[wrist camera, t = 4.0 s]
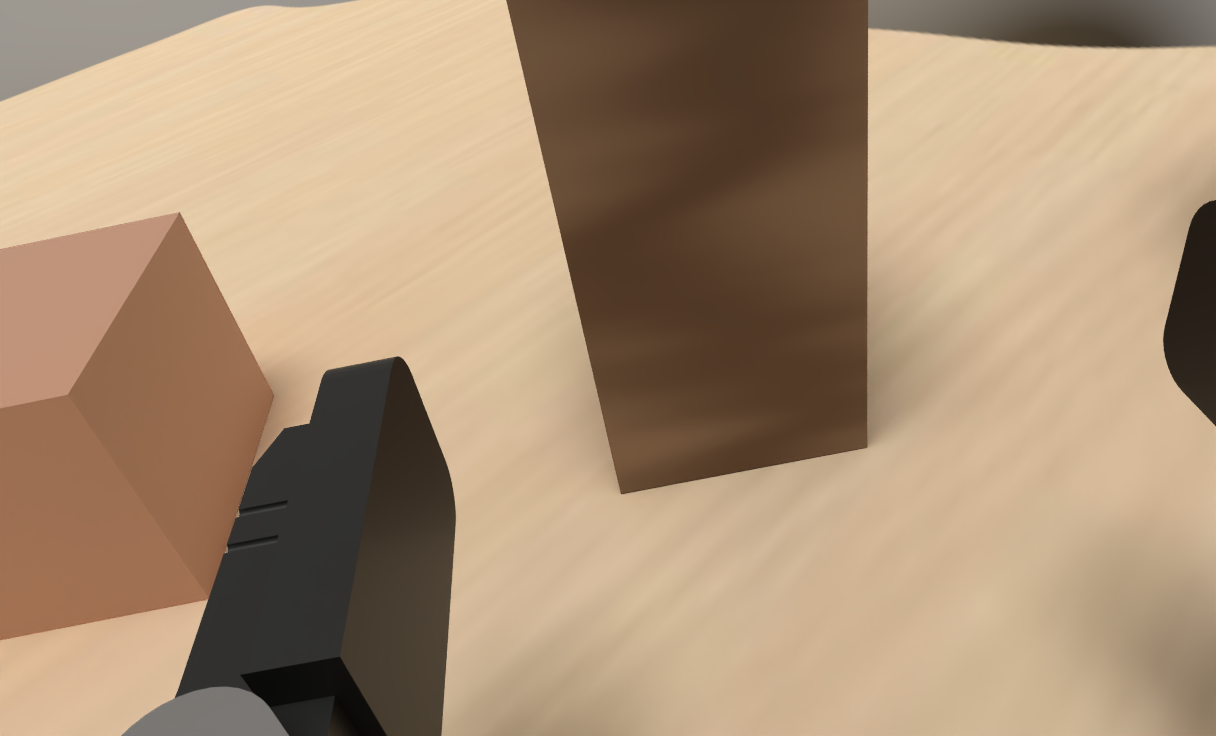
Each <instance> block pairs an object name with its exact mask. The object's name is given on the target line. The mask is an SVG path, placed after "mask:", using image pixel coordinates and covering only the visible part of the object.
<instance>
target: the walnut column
mask: <svg viewBox="0 0 1216 736" xmlns="http://www.w3.org/2000/svg"><path fill="white" fill-rule="evenodd" d="M506 1H507V5H508V9H509V14H510V18H511V22H512V26H513V31H514V35H515V39H516V44H517V48H518V52H519V57H520V61H521V65H522V70H523V74H524V78H525V82H526V87H527V91H528V95H529V100H530V104H531V108H532V113H533V117H534V121H535V125H536V130H537V134H538V138H539V143H540V147H541V151H542V156H543V160H544V164H545V169H546V173H547V177H548V181H549V186H550V190H551V194H552V199H553V203H554V207H555V212H556V216H557V220H558V225H559V229H560V233H561V237H562V242H563V246H564V250H565V255H566V259H567V263H568V268H569V272H570V276H571V280H572V285H573V289H574V293H575V298H576V302H577V306H578V311H579V315H580V319H581V324H582V328H583V332H584V336H585V341H586V345H587V349H588V354H589V358H590V362H591V367H592V371H593V375H594V380H595V384H596V388H597V392H598V397H599V401H600V405H601V410H602V414H603V418H604V423H605V427H606V431H607V436H608V440H609V444H610V448H611V453H612V457H613V461H614V466H615V470H616V474H617V479H618V483H619V487H620V491H621V494H623V493H628V492H633V491H639V490H644V489H649V488H654V487H660V486H665V485H670V484H676V483H681V482H686V481H691V480H697V479H702V478H707V477H713V476H718V475H723V474H728V473H734V472H739V471H744V470H750V469H755V468H760V467H766V466H771V465H776V464H781V463H787V462H792V461H797V460H803V459H808V458H813V457H818V456H824V455H829V454H834V453H840V452H845V451H850V450H856V449H861V448H866V447H867V192H868V0H506Z"/></svg>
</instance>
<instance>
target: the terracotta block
mask: <svg viewBox="0 0 1216 736" xmlns="http://www.w3.org/2000/svg"><path fill="white" fill-rule="evenodd" d="M273 397H274V395H273V393H272V391H271V389H270V387H269V385H268V383H267V381H266V379H265V377H264V375H263V373H262V371H261V369H260V367H259V365H258V363H257V362H256V360H255V358H254V356H253V354H252V352H251V350H250V348H249V346H248V344H247V342H246V340H245V338H244V336H243V334H242V332H241V330H240V328H239V327H238V325H237V323H236V321H235V319H234V317H233V315H232V313H231V311H230V309H229V307H228V305H227V303H226V301H225V299H224V297H223V295H222V293H221V292H220V290H219V288H218V286H217V284H216V282H215V280H214V278H213V276H212V274H211V272H210V270H209V268H208V266H207V264H206V262H205V260H204V259H203V257H202V255H201V253H200V251H199V249H198V247H197V245H196V243H195V241H194V239H193V237H192V235H191V233H190V231H189V229H188V227H187V225H186V224H185V222H184V220H183V218H182V216H181V214H180V212H179V213H174V214H169V215H164V216H159V217H154V218H150V219H145V220H140V221H135V222H130V223H125V224H120V225H116V226H111V227H106V228H101V229H96V230H91V231H86V232H82V233H77V234H72V235H67V236H62V237H57V238H53V239H48V240H43V241H38V242H33V243H28V244H23V245H19V246H14V247H9V248H4V249H0V640H3V639H9V638H14V637H19V636H24V635H29V634H34V633H39V632H44V631H49V630H54V629H60V628H65V627H70V626H75V625H80V624H85V623H90V622H95V621H100V620H105V619H111V618H116V617H121V616H126V615H131V614H136V613H141V612H146V611H151V610H157V609H162V608H167V607H172V606H177V605H182V604H187V603H192V602H197V601H202V600H208V599H209V596H210V593H211V590H212V587H213V584H214V581H215V578H216V575H217V572H218V569H219V566H220V563H221V560H222V557H223V554H224V552H225V549H226V546H227V542H228V539H229V536H230V533H231V530H232V527H233V523H234V520H235V517H236V514H237V511H238V508H239V505H240V501H241V498H242V495H243V492H244V489H245V486H246V482H247V479H248V476H249V473H250V470H251V467H252V464H253V460H254V457H255V454H256V451H257V448H258V445H259V441H260V438H261V435H262V432H263V429H264V426H265V423H266V419H267V416H268V413H269V410H270V407H271V404H272V401H273Z"/></svg>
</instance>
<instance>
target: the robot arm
mask: <svg viewBox="0 0 1216 736" xmlns="http://www.w3.org/2000/svg"><path fill="white" fill-rule="evenodd" d="M1163 344H1164V353H1165V358H1166V362H1167V365H1168V368H1169V370H1170V373H1171V375H1172V377H1173V379H1174V381H1175V382H1176V384H1177V385H1178V387H1179V388H1180V389H1181V390H1182V391H1183V392H1184V393H1185V395H1186V396H1187V397H1188V398H1189V399H1190V400H1191V401H1192V402H1193V403H1194V404H1195V405H1196V406H1197V407H1198V408H1199V409H1200V410H1201V411H1202V412H1203V413H1204V414H1205V415H1206V416H1207V417H1208V418H1209V420H1210V421H1211V422H1212V423H1213V424H1214V425H1215V426H1216V200H1215V201H1210V202H1208V203H1206V204H1204V205H1203V206H1202V207H1200V208H1199V209H1198V211H1197V212H1196V213H1195V215H1194V217H1193V219H1192V221H1191V224H1190V227H1189V231H1188V235H1187V239H1186V243H1185V247H1184V251H1183V255H1182V259H1181V264H1180V268H1179V272H1178V276H1177V280H1176V284H1175V288H1174V292H1173V296H1172V300H1171V304H1170V308H1169V312H1168V316H1167V320H1166V324H1165V329H1164V338H1163ZM238 510H239V513H240V517H238V518H235V521H234V524H233V527H232V530H231V533H230V536H229V539H228V542H227V546H228V553H225V554H223V557H222V560H221V563H220V566H219V569H218V572H217V575H216V578H215V581H214V584H213V587H212V590H211V593H210V596H209V599H208V602H207V605H206V608H205V611H204V614H203V617H202V620H201V623H200V626H199V629H198V632H197V635H196V638H195V641H194V644H193V647H192V650H191V653H190V656H189V659H188V662H187V665H186V668H185V671H184V674H183V677H182V680H181V683H180V686H179V689H178V691H177V694H176V696H175V699H173V700H171V701H169V702H167V703H165V704H163V705H161V706H159V707H158V708H156V709H154V710H153V711H151V712H150V713H148V714H147V715H145V716H144V717H143V718H141V719H140V720H139V721H138V722H136V723H135V724H134V725H132V726H131V727H130V728H129V729H128V730H127V731H126V732H125V733H124V734H123V735H122V736H441V732H442V717H443V702H444V688H445V673H446V658H447V643H448V628H449V614H450V599H451V584H452V569H453V554H454V540H455V525H456V511H455V500H454V493H453V487H452V482H451V478H450V474H449V470H448V467H447V464H446V461H445V458H444V456H443V453H442V451H441V448H440V446H439V443H438V440H437V438H436V435H435V433H434V430H433V428H432V425H431V422H430V420H429V417H428V415H427V412H426V410H425V407H424V405H423V402H422V399H421V397H420V394H419V392H418V389H417V387H416V384H415V381H414V379H413V376H412V374H411V372H410V369H409V367H408V366H407V364H406V362H405V361H404V360H403V359H402V358H401V357H393V358H387V359H382V360H377V361H372V362H367V363H362V364H356V365H351V366H346V367H341V368H336V369H331V370H328V371H326V372H325V374H324V375H323V377H322V380H321V384H320V387H319V391H318V395H317V398H316V402H315V405H314V409H313V413H312V416H311V420H310V423H309V424H305V425H300V426H294V427H289V428H284V429H283V431H282V432H281V433H280V434H279V436H278V437H277V438H276V439H275V441H274V442H273V443H272V444H271V445H270V447H269V448H268V449H267V450H266V452H265V453H264V454H263V455H262V457H261V458H260V459H259V460H258V461H257V463H256V464H255V465H254V466H253V468H252V470H251V473H250V476H249V479H248V482H247V485H246V488H245V491H244V494H243V497H242V500H241V503H240V506H239V509H238Z"/></svg>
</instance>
